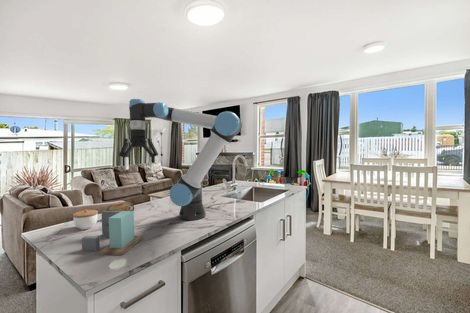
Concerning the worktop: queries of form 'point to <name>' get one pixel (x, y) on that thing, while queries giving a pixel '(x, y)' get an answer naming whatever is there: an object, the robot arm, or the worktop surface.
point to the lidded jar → (85, 219)
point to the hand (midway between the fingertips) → (139, 169)
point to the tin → (121, 207)
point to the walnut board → (120, 250)
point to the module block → (121, 229)
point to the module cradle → (93, 241)
